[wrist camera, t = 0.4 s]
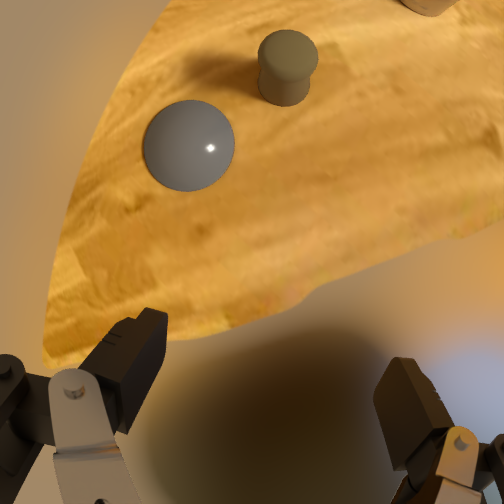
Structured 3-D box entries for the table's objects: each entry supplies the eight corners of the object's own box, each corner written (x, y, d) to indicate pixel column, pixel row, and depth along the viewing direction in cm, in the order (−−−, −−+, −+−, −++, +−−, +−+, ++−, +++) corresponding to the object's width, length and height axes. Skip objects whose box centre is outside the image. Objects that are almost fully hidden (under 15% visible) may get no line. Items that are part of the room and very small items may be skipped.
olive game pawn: (246, 84, 30) (236, 51, 20) (281, 51, 29) (284, 9, 18) (286, 117, 31) (293, 95, 21) (320, 83, 30) (340, 50, 19)
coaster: (172, 87, 31) (171, 86, 30) (252, 126, 32) (251, 125, 31) (132, 166, 34) (129, 166, 33) (206, 207, 35) (205, 208, 34)
